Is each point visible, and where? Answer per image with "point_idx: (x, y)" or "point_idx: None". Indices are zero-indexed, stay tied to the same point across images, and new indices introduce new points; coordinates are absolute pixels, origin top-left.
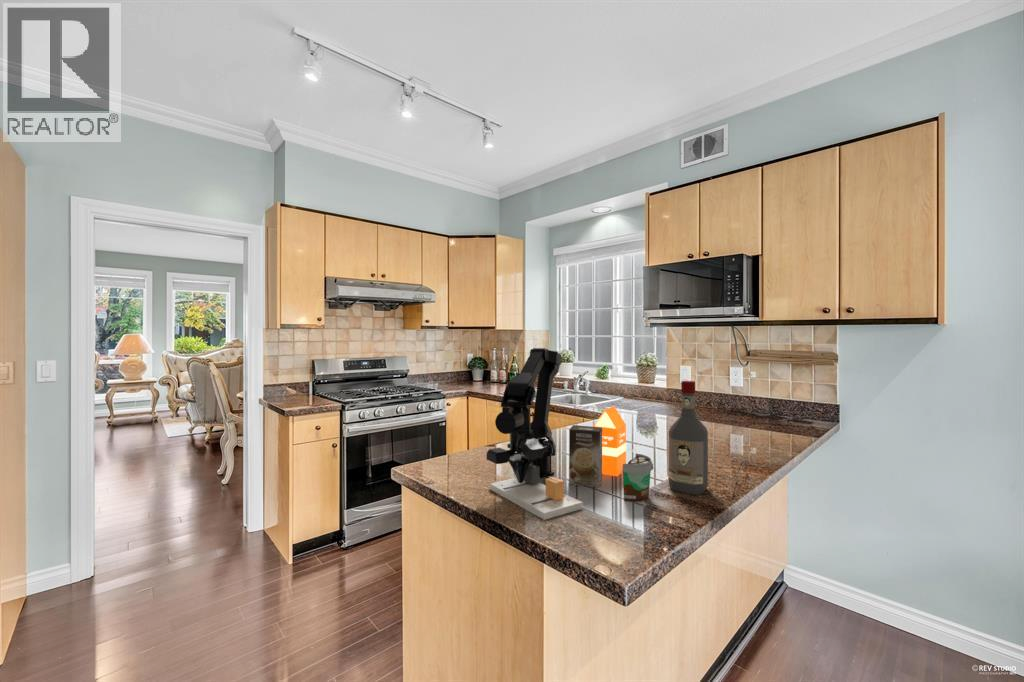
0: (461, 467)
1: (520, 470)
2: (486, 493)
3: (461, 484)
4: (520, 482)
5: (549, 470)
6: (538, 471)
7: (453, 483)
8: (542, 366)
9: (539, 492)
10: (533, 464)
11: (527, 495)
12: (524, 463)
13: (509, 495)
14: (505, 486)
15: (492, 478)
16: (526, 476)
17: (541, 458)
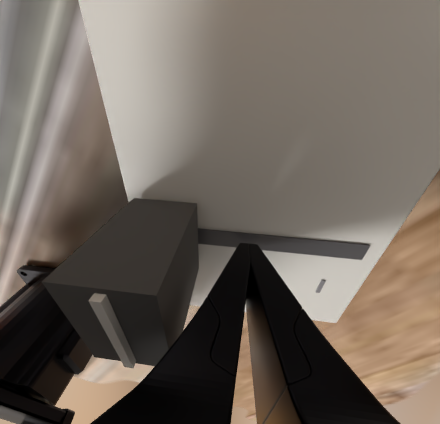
0: (248, 398)
1: (291, 324)
2: (376, 282)
3: (349, 359)
4: (257, 245)
5: (30, 287)
6: (92, 248)
7: (356, 370)
8: None
9: (245, 28)
10: (84, 341)
11: (390, 32)
12: (229, 417)
13: (432, 163)
14: (321, 269)
15: None
16: (191, 270)
17: (4, 359)
